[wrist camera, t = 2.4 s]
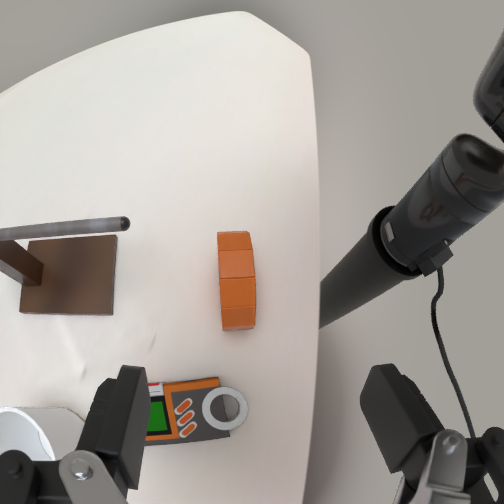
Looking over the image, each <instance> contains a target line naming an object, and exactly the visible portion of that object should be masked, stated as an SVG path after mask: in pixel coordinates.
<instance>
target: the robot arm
mask: <svg viewBox="0 0 504 504" xmlns="http://www.w3.org/2000/svg"><path fill="white" fill-rule="evenodd" d="M473 104H474V107H475V109H476V111H477V112H478V114H479V115H480V117H481V118H482V119H483V120H484V122H485V123H486V124H487V125H488V126H489V127H491V129H492V130H493V131H494V132H495V134H496V135H497V136H498V137H499V138H500V139H501V141H502V142H503V143H504V29H503V32H502V34H501V36H500V38H499V40H498V42H497V44H496V45H495V48H494V49H493V51H492V53H491V55H490V57H489V59H488V61H487V62H486V64H485V66H484V68H483V70H482V72H481V74H480V76H479V78H478V80H477V83H476V85H475V89H474V93H473ZM503 202H504V150H502V149H499V148H496V147H495V146H493V145H491V144H489V143H488V142H486V141H484V140H483V139H481V138H479V137H477V136H475V135H472V134H467V133H461V134H458V135H456V136H455V137H453V138H452V140H451V141H450V142H449V143H448V144H447V146H446V147H445V148H444V150H443V151H442V152H441V153H440V155H439V156H438V157H437V158H436V159H435V161H434V162H433V163H432V164H431V165H430V167H429V168H428V169H427V170H426V172H425V173H424V174H423V175H422V176H421V177H420V179H419V180H418V181H417V182H416V183H415V184H414V186H413V187H412V188H411V189H410V190H409V191H408V192H407V194H406V195H405V196H404V197H403V198H402V199H401V201H400V202H399V203H398V204H397V205H396V206H395V207H394V208H393V209H392V210H391V211H390V212H389V214H387V215H386V216H385V218H384V219H383V220H382V222H381V225H380V240H381V243H382V246H383V248H384V250H385V251H386V253H387V254H388V255H389V257H390V258H391V259H392V260H393V261H395V262H396V263H397V264H399V265H401V266H403V267H406V268H407V270H408V271H409V272H410V273H411V272H413V271H414V270H416V269H417V268H420V270H421V271H422V273H423V275H424V276H425V277H426V276H428V275H429V274H431V273H433V272H434V271H436V270H437V272H438V282H439V286H438V291H437V293H436V295H435V296H434V297H433V299H432V302H431V321H432V326H433V330H434V334H435V337H436V340H437V343H438V346H439V350H440V353H441V356H442V360H443V363H444V366H445V368H446V371H447V373H448V375H449V378H450V380H451V382H452V385H453V387H454V389H455V392H456V395H457V397H458V400H459V403H460V406H461V408H462V411H463V414H464V417H465V420H466V423H467V427H468V430H469V433H470V437H471V438H464V436H463V435H462V434H460V433H459V432H457V431H455V430H450V429H446V430H445V428H444V427H443V425H442V424H441V422H440V421H439V419H438V418H437V416H436V414H435V413H434V411H433V410H432V409H431V407H430V405H429V404H428V402H426V399H425V398H424V396H423V395H422V394H421V393H420V390H419V389H418V387H417V386H416V384H415V383H414V382H413V381H412V380H410V379H409V378H408V377H407V376H405V375H401V374H400V372H399V371H398V369H397V368H396V366H395V365H394V364H392V363H391V364H383V365H376V366H373V367H372V368H371V370H370V373H369V375H368V378H367V380H366V382H365V385H364V388H363V390H362V392H361V395H360V405H361V409H362V411H363V414H364V415H365V418H366V420H367V422H368V424H369V427H370V429H371V431H372V433H373V435H374V437H375V440H376V442H377V444H378V446H379V448H380V451H381V453H382V455H383V457H384V459H385V462H386V464H387V466H388V468H389V470H390V473H391V474H392V473H395V472H399V471H402V472H403V473H404V475H403V476H402V478H401V480H400V484H399V486H398V489H397V492H396V495H395V498H394V501H393V504H504V430H503V429H501V428H499V427H491V428H489V429H487V430H486V432H485V433H484V434H483V436H482V437H478V438H476V436H475V432H474V429H473V426H472V422H471V419H470V416H469V413H468V410H467V407H466V404H465V401H464V398H463V396H462V393H461V390H460V388H459V385H458V382H457V380H456V378H455V376H454V373H453V371H452V368H451V366H450V363H449V361H448V357H447V354H446V351H445V347H444V344H443V341H442V338H441V335H440V332H439V329H438V324H437V319H436V303H437V301H438V299H439V298H440V297H441V295H442V293H443V288H444V278H443V269H442V265H443V264H444V263H445V262H446V261H448V260H449V259H450V258H451V257H452V256H453V253H452V252H451V250H450V248H449V246H450V245H451V244H452V243H453V242H454V241H455V240H456V239H457V238H459V237H460V236H461V235H463V234H464V233H465V232H467V231H468V230H469V229H471V228H472V227H473V226H475V225H476V224H477V223H479V222H480V221H481V220H482V219H484V218H485V217H486V216H487V215H489V214H490V213H491V212H492V211H493V210H495V209H496V208H497V207H499V206H500V205H501V204H502V203H503ZM150 411H151V398H150V392H149V387H148V382H147V376H146V371H145V368H144V367H137V366H127V365H123V366H122V367H121V369H120V372H119V375H118V377H117V379H112V378H107V379H106V380H105V381H104V382H103V383H102V384H101V385H100V386H99V387H98V389H97V392H96V394H95V397H94V401H93V402H92V405H91V407H90V411H89V413H88V416H87V418H86V421H85V424H84V427H83V430H82V433H81V435H80V438H79V441H78V444H77V447H76V449H75V450H74V451H72V452H70V453H68V454H66V455H65V456H64V457H63V458H62V459H61V460H56V461H32V460H31V459H30V457H29V456H28V455H27V454H26V453H24V452H22V451H20V450H8V451H5V452H4V453H2V454H1V455H0V504H128V502H127V501H126V498H127V492H128V488H129V489H135V490H138V484H139V477H140V470H141V464H142V457H143V451H144V445H145V440H146V434H147V428H148V423H149V417H150ZM487 473H489V475H490V477H491V478H492V480H493V482H494V484H495V486H496V488H497V490H498V493H499V496H498V500H497V501H496V502H495V501H494V500H493V498H492V496H491V494H490V492H489V489H488V487H487V486H486V484H485V482H484V476H485V475H486V474H487Z"/></svg>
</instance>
